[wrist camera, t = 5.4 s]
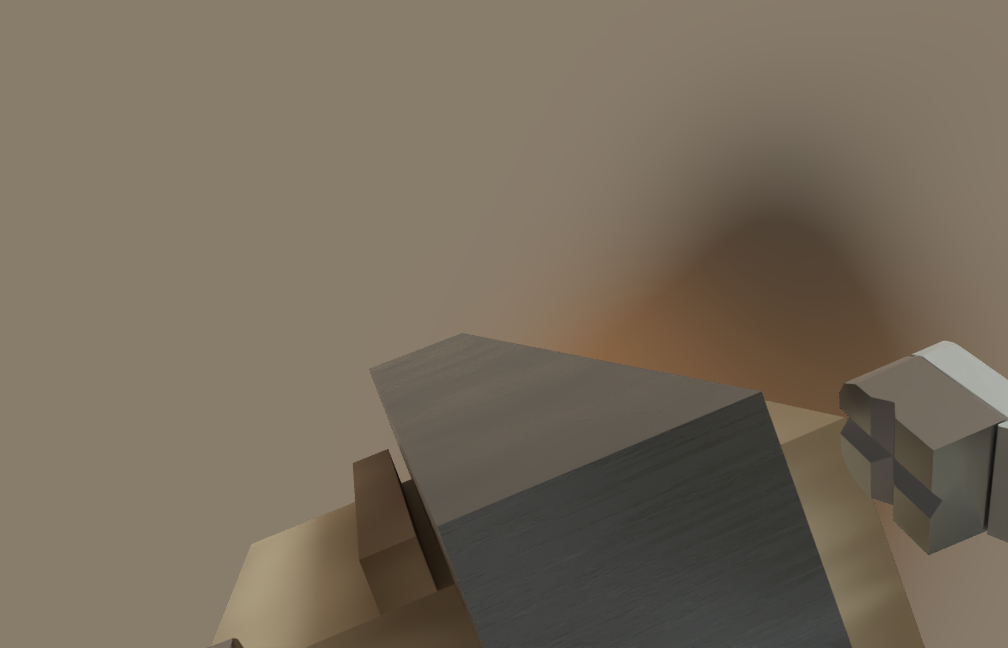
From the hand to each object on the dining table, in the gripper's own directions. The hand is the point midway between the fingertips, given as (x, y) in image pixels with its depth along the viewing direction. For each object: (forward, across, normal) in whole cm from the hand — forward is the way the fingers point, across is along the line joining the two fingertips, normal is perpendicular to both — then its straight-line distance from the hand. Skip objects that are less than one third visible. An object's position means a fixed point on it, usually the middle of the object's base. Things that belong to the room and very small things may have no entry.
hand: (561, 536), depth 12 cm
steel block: (+5, 0, +4) cm, 7 cm away
